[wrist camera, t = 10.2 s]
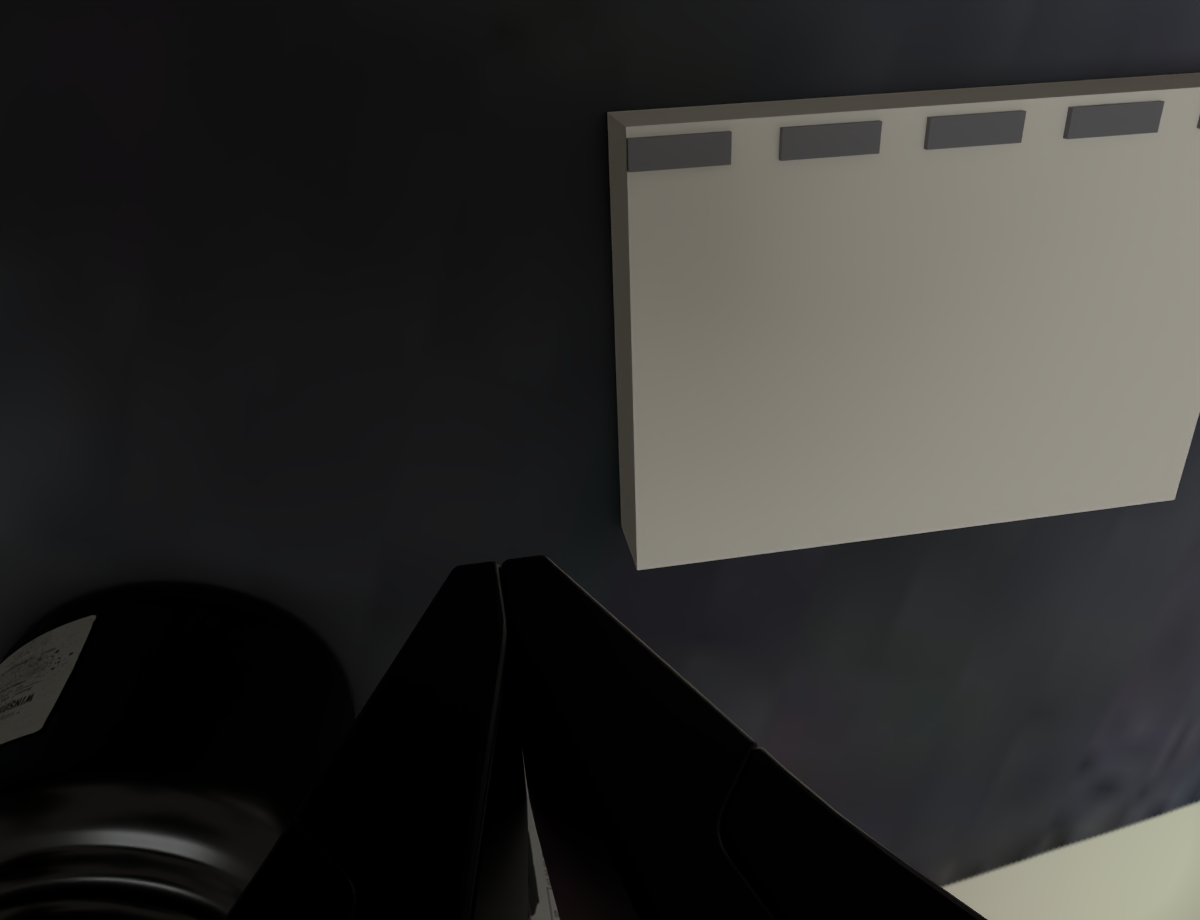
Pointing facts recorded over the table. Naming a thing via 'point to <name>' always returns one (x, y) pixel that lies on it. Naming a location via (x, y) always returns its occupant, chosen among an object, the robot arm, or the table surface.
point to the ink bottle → (156, 754)
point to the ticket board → (902, 311)
